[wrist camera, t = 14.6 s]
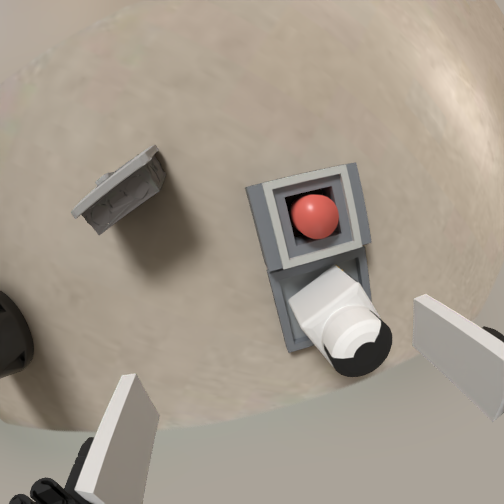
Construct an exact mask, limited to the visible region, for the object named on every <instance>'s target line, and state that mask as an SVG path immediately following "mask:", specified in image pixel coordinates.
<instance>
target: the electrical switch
mask: <svg viewBox="0 0 504 504" xmlns="http://www.w3.org/2000/svg"><path fill="white" fill-rule="evenodd" d="M157 151H159V149H158V148H157V147H156V145H153V146H151V147H149V148H147V149H146V150H144V151H143V152H142V153H140V154H138V155H137V156H136V157H134V158H133V159H131V160H130V161H128V162H127V163H126V164H124V165H123V166H122V167H120V168H119V169H118V170H116V171H115V173H114V172H112V173H106V174H104V175H103V176H102V177H100V178H99V179H98V180H97V181H96V182H95V183H96V184H97V187H96V188H95V189H93V190H92V191H91V192H90V193H89V194H88V195H87V196H85V197H84V198H83V199H82V200H81V201H80V202H79V203H78V204H77V205H76V207H75V208H74V209H73V210H72V211H71V213H72V215H73V216H74V218H75V219H76V218H78V217H79V216H80V215H82V216H83V217H84V218H85V220H86V221H87V223H89V224H90V225H91V226H92V227H93V228H94V229H95V231H96V232H97V233H98V235H100V234H102V233H103V232H104V231H106V230H107V229H108V228H109V227H111V226H112V225H113V224H115V223H116V222H117V221H119V220H120V219H121V218H123V217H124V216H125V215H127V214H128V213H129V212H131V211H132V210H133V209H135V208H136V207H138V206H139V205H140V204H142V203H143V202H145V201H146V200H147V199H149V198H150V197H152V196H153V195H155V194H156V193H157V192H159V191H160V190H161V187H162V184H163V182H164V179H165V176H166V173H165V172H164V171H163V169H162V168H161V164H160V163H159V162H158V160H157V159H156V157H155V155H154V154H155V153H156V152H157ZM154 182H155V183H154ZM156 185H157V186H158V187H157V186H156ZM158 188H159V189H160V190H159V189H158ZM147 193H148V194H147ZM108 223H109V224H108Z"/></svg>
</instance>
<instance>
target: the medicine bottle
mask: <svg viewBox="0 0 504 504" xmlns="http://www.w3.org/2000/svg"><path fill="white" fill-rule="evenodd" d="M288 303H289V305H290V307H291V309H292V311H293V313H294V315H295V317H296V319H297V321H298V323H299V325H300V327H301V329H302V330H303V331H304V333H305V334H306V335H307V336H308V338H309V339H310V340H311V341H312V342H313V344H314V345H315V346H316V347H317V348H318V350H319V351H320V352H321V353H322V355H323V356H324V357H325V358H326V359H327V361H328V362H329V363H330V364H331V365H332V366H333V367H334V368H335V370H336V371H337V372H338V373H340V374H341V375H344V376H347V377H358V376H363V375H366V374H368V373H370V372H372V371H374V370H375V369H376V368H378V367H379V366H380V365H381V364H382V363H383V362H384V360H385V359H386V358H387V356H388V354H389V352H390V349H391V345H392V333H391V330H390V328H389V327H388V326H387V325H386V324H385V323H384V322H383V321H382V320H381V318H380V316H379V314H378V313H377V311H376V309H375V308H374V306H373V304H372V303H371V301H370V299H369V298H368V296H367V294H366V293H365V291H364V290H363V288H362V286H361V285H360V283H359V282H357V281H356V280H355V279H354V278H352V277H351V276H350V275H349V274H347V273H346V272H345V271H343V270H342V269H341V268H340V267H338V266H337V265H333V266H332V267H330V268H329V269H328V270H326V271H325V272H324V273H323V274H321V275H320V276H319V277H317V278H316V279H315V280H313V281H312V282H311V283H310V284H308V285H307V286H306V287H304V288H303V289H302V290H300V291H299V292H298V293H296V294H295V295H294V296H292V297H291V298H290V299H289V300H288Z"/></svg>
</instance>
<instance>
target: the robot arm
mask: <svg viewBox="0 0 504 504" xmlns="http://www.w3.org/2000/svg"><path fill="white" fill-rule="evenodd" d="M412 346H413V347H414V348H415V349H417V350H418V351H419V352H420V353H421V354H422V355H423V356H424V357H425V358H426V359H427V360H429V361H430V362H431V363H432V364H433V365H434V366H435V367H436V368H437V369H438V370H439V371H440V372H442V373H443V374H444V375H445V376H446V377H447V378H448V379H449V380H450V381H451V382H452V383H453V384H454V385H455V386H456V387H457V388H458V389H459V390H460V391H461V392H463V393H464V394H465V395H466V396H467V397H468V398H469V399H470V400H471V401H472V402H473V403H474V404H475V405H476V406H477V407H478V408H479V409H480V410H481V411H482V412H483V413H484V414H485V415H486V416H487V417H488V418H489V419H490V420H491V421H492V422H493V421H494V420H496V419H497V418H498V417H499V416H500V415H502V414H503V413H504V336H503V335H502V334H501V333H499V332H498V331H496V330H494V329H491V328H488V327H483V328H480V327H479V326H477V325H476V324H474V323H473V322H471V321H470V320H468V319H466V318H465V317H463V316H462V315H460V314H458V313H457V312H455V311H454V310H452V309H450V308H449V307H447V306H445V305H444V304H442V303H440V302H439V301H437V300H435V299H434V298H432V297H430V296H429V295H427V294H424V295H421V296H419V297H417V298H414V320H413V344H412ZM32 357H33V341H32V337H31V334H30V331H29V328H28V326H27V323H26V321H25V319H24V317H23V316H22V314H21V312H20V311H19V309H18V308H17V306H16V305H15V304H14V302H13V301H12V300H11V299H10V298H9V297H8V296H7V295H6V294H4V293H3V292H2V291H0V378H3V377H6V376H9V375H11V374H14V373H17V372H19V371H21V370H23V369H24V368H25V367H26V366H27V365H28V364H29V363H30V362H31V360H32ZM159 416H160V415H159V413H158V412H157V410H156V408H155V407H154V405H153V403H152V401H151V400H150V398H149V396H148V394H147V393H146V391H145V389H144V387H143V385H142V383H141V382H140V380H139V378H138V376H137V374H136V373H135V374H128V375H122V376H121V379H120V381H119V383H118V385H117V387H116V389H115V392H114V394H113V396H112V398H111V400H110V403H109V405H108V407H107V409H106V412H105V414H104V416H103V419H102V421H101V423H100V426H99V428H98V430H97V433H96V435H95V438H93V437H90V438H88V439H87V440H86V441H85V443H84V444H83V445H82V446H81V448H80V451H79V453H78V457H77V458H76V460H75V464H74V465H73V468H72V470H71V473H70V475H69V478H68V480H67V483H66V485H65V488H64V489H63V488H62V487H61V486H60V485H59V484H58V483H57V482H55V481H54V480H53V479H51V478H42V479H39V480H38V481H36V482H35V483H34V484H33V486H32V488H31V491H30V497H31V498H32V499H33V500H34V501H36V502H34V501H32V500H31V499H30V498H29V497H28V496H26V495H24V494H18V495H15V496H14V497H13V498H12V499H11V501H10V503H9V504H142V503H143V497H144V491H145V486H146V480H147V474H148V469H149V464H150V459H151V454H152V449H153V444H154V439H155V434H156V430H157V425H158V421H159Z"/></svg>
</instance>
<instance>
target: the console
mask: <svg viewBox="0 0 504 504" xmlns="http://www.w3.org/2000/svg"><path fill="white" fill-rule="evenodd" d="M245 189H246V193H247V197H248V200H249V204H250V208H251V212H252V216H253V219H254V223H255V227H256V231H257V235H258V238H259V242H260V246H261V250H262V254H263V258H264V261H265V264H266V266H267V268H268V270H267V273H268V277H269V281H270V285H271V289H272V292H273V296H274V300H275V304H276V308H277V312H278V316H279V320H280V324H281V328H282V332H283V336H284V340H285V344H286V347H287V350H288V353H290V352H293V351H297V350H300V349H303V348H307V347H310V346H313V345H314V344H313V342H312V341H311V340H310V339H309V338H308V336H307V335H306V334H305V333H304V331H303V330H302V329H301V327H300V325H299V323H298V321H297V319H296V317H295V315H294V313H293V311H292V309H291V307H290V305H289V303H288V300H289V299H290V298H291V297H292V296H294V295H295V294H296V293H298V292H299V291H300V290H302V289H303V288H304V287H306V286H307V285H308V284H310V283H311V282H312V281H313V280H315V279H316V278H317V277H319V276H320V275H321V274H323V273H324V272H325V271H326V270H328V269H329V268H330V267H332V266H333V265H337V266H338V267H340V268H341V269H342V270H343V271H345V272H346V273H347V274H349V275H350V276H351V277H352V278H354V279H355V280H356V281H357V282H359V283H360V285H361V286H362V288H363V290H364V291H365V293H366V294H367V296H368V298H369V299H370V301H371V292H370V283H369V275H368V267H367V260H366V253H365V247H364V246H362V245H364V244H368V243H371V236H370V230H369V224H368V218H367V212H366V207H365V202H364V197H363V192H362V187H361V182H360V178H359V173H358V169H357V164H356V163H350V164H344V165H339V166H334V167H329V168H324V169H320V170H315V171H311V172H306V173H302V174H297V175H293V176H289V177H284V178H280V179H276V180H272V181H268V182H264V183H260V184H256V185H252V186H248V187H245ZM316 189H321V191H322V195H323V196H326V197H328V198H329V199H331V200H332V201H333V202H334V203H335V205H336V207H337V209H338V213H339V221H338V224H337V227H336V229H335V230H334V231H333V233H332V234H330V235H329V236H327V237H325V238H323V239H312V238H309V237H307V236H306V235H303V236H299V237H295V238H294V235H293V230H292V226H291V222H290V218H289V214H288V210H287V205H286V201H285V197H287V196H291V195H295V194H300V193H304V192H308V191H312V190H316ZM371 303H372V302H371Z"/></svg>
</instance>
